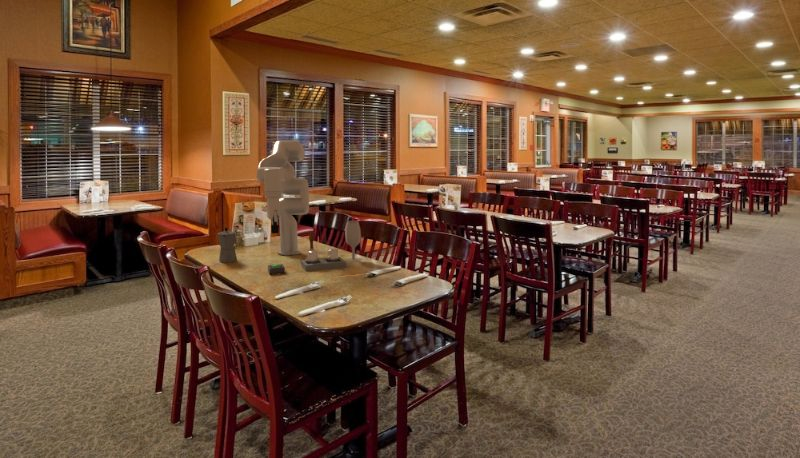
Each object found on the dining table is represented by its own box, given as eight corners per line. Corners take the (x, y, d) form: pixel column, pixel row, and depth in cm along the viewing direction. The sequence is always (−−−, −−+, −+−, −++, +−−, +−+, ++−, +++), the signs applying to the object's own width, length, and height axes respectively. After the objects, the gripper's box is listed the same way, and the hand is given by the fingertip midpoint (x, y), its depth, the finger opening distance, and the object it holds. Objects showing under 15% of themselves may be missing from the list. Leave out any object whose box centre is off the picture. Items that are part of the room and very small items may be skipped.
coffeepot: (235, 263, 261) (233, 229, 258) (216, 264, 260) (213, 229, 257) (240, 256, 276) (238, 224, 273) (222, 257, 275) (220, 225, 272)
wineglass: (361, 263, 260) (360, 223, 257) (344, 263, 260) (343, 223, 257) (362, 259, 269) (361, 220, 265) (346, 259, 269) (345, 220, 265)
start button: (271, 269, 243) (270, 264, 243) (280, 268, 245) (280, 263, 244) (272, 271, 239) (272, 266, 239) (281, 270, 241) (281, 265, 240)
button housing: (268, 271, 244) (267, 265, 244) (282, 270, 247) (282, 264, 246) (269, 274, 238) (269, 268, 237) (284, 273, 240) (284, 267, 240)
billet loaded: (327, 264, 254) (326, 249, 252) (336, 263, 255) (336, 248, 254) (329, 266, 249) (329, 251, 248) (339, 266, 251) (338, 250, 250)
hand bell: (321, 259, 270) (320, 229, 267) (317, 262, 262) (316, 232, 259) (306, 258, 271) (305, 229, 268) (302, 262, 263) (300, 232, 260)
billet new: (306, 266, 250) (306, 250, 248) (316, 265, 252) (315, 249, 250) (309, 268, 245) (308, 253, 244) (319, 267, 248) (318, 251, 246)
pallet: (301, 267, 252) (300, 260, 252) (339, 263, 260) (339, 256, 259) (305, 272, 241) (305, 265, 241) (346, 268, 249) (345, 261, 248)
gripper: (263, 193, 242) (265, 231, 245) (266, 196, 228) (268, 236, 231) (278, 192, 245) (280, 229, 248) (283, 196, 231) (285, 235, 234)
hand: (274, 232), depth 240 cm, fingers closed
